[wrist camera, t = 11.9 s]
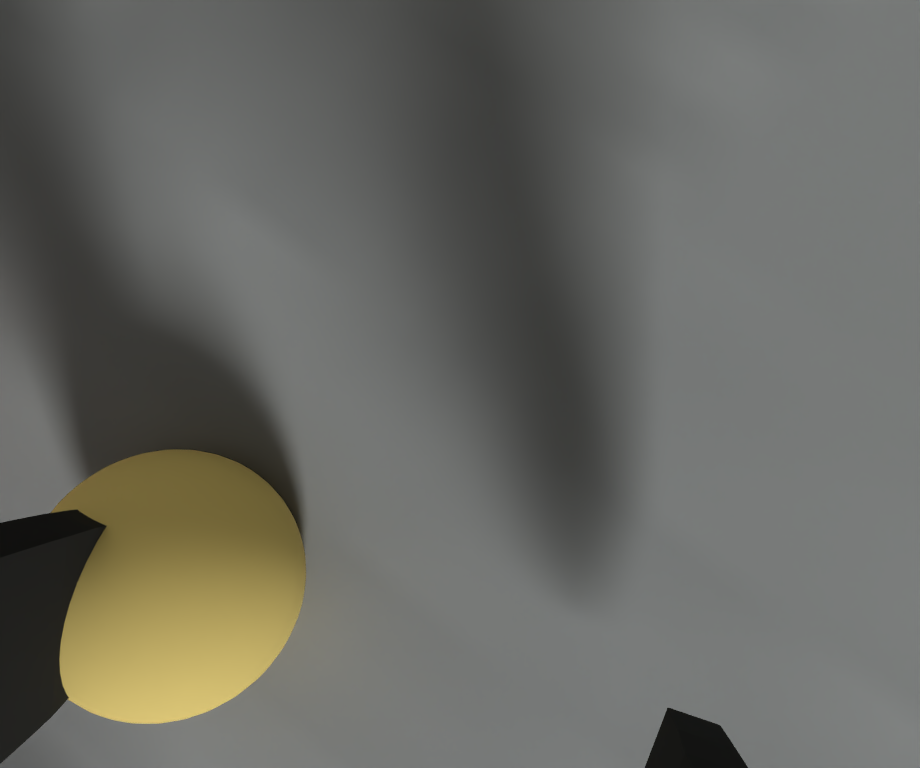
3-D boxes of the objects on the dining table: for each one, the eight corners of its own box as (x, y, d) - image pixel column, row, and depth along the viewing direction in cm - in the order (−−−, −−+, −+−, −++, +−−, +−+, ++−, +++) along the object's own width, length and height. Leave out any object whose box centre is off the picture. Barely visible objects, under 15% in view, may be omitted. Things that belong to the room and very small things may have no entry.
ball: (121, 844, 8) (-76, 685, 9) (314, 706, 11) (151, 607, 13) (210, 531, 7) (-9, 416, 9) (381, 490, 11) (205, 412, 12)
